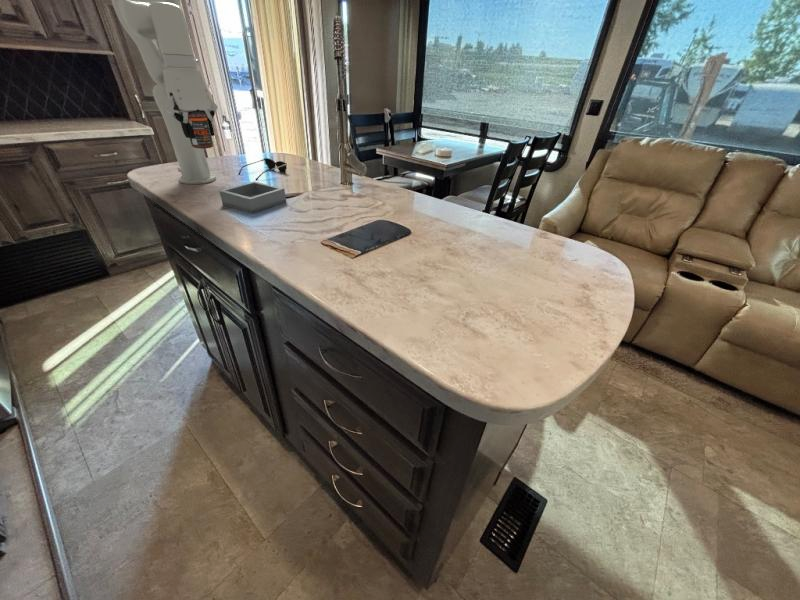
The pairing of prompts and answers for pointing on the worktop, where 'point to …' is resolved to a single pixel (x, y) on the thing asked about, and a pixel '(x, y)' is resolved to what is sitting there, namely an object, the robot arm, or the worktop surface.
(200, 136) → the supplement bottle
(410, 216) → the worktop surface
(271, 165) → the sunglasses
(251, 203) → the bin
